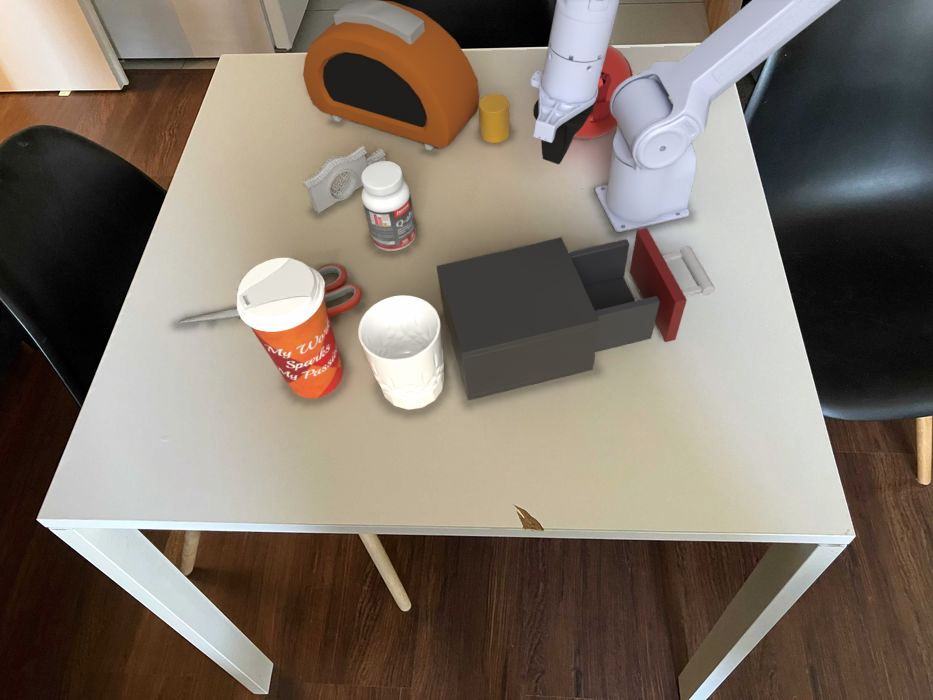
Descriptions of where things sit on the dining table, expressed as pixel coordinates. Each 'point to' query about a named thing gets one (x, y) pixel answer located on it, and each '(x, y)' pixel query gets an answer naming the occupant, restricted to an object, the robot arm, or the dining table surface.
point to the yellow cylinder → (494, 118)
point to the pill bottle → (388, 206)
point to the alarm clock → (392, 73)
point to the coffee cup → (292, 324)
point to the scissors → (330, 294)
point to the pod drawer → (654, 281)
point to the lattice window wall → (332, 169)
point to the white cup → (404, 350)
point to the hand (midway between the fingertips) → (552, 158)
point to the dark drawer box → (518, 317)
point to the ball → (606, 95)
